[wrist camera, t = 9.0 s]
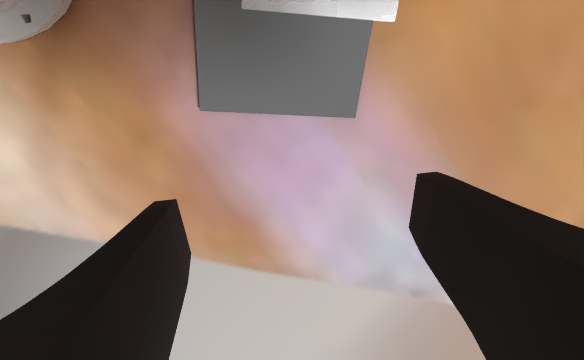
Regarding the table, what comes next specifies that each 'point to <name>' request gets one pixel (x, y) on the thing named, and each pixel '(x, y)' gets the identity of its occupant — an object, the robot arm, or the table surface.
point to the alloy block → (330, 8)
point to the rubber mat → (278, 61)
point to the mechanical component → (28, 17)
